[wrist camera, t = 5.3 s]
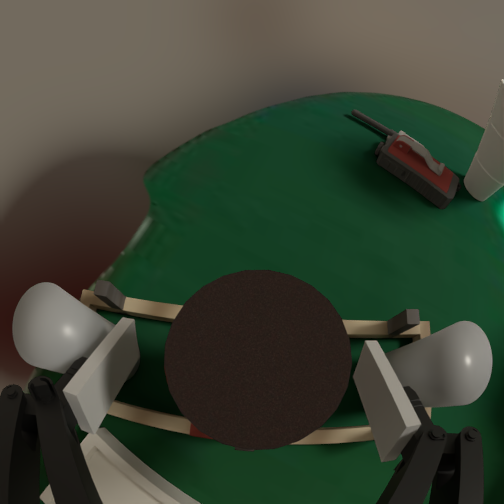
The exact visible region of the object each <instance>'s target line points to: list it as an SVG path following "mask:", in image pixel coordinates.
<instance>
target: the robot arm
mask: <svg viewBox="0 0 504 504" xmlns="http://www.w3.org/2000/svg"><path fill="white" fill-rule="evenodd" d="M139 357H140V355H139V349H138V343H137V336H136V329H135V321H134V319H129V318H124V317H123V318H122V319H121V320H120V321H119V322H118V323H117V325H116V326H115V327H114V328H113V329H112V330H111V332H110V333H109V334H108V335H107V336H106V337H105V339H104V340H103V341H102V342H101V343H100V345H99V346H98V347H97V348H96V349H95V351H94V352H93V353H92V354H91V356H90V357H89V358H86V357H83V356H82V357H81V358H79V359H77V360H76V361H74V362H73V364H72V365H71V366H70V368H68V370H67V371H66V373H64V374H63V376H62V377H61V378H60V379H59V380H58V382H57V383H56V384H55V385H54V384H53V382H52V380H51V379H50V378H49V377H46V376H38V377H35V378H34V379H32V380H31V381H30V382H29V384H28V389H29V391H30V393H31V394H25V393H23V391H22V389H21V387H20V386H18V385H14V384H13V385H9V386H6V387H5V388H4V389H3V391H2V393H1V396H0V504H40V495H39V470H40V449H41V450H42V455H43V460H44V464H45V468H46V473H47V476H48V480H49V484H50V487H51V491H52V494H53V497H54V501H55V504H103V503H102V500H101V498H100V496H99V494H98V491H97V489H96V487H95V484H94V482H93V479H92V477H91V474H90V472H89V469H88V466H87V463H86V461H85V458H84V455H83V452H82V449H81V446H80V442H79V439H78V436H77V432H76V430H75V428H74V427H75V426H76V424H77V423H78V424H79V426H80V428H81V430H83V431H86V432H88V433H91V434H93V435H95V433H96V431H97V429H98V428H99V426H100V424H101V422H102V421H103V419H104V417H105V415H106V414H107V412H108V410H109V408H110V407H111V405H112V403H113V401H114V400H115V398H116V396H117V394H118V393H119V391H120V389H121V388H122V386H123V384H124V382H125V381H126V379H127V377H128V376H129V374H130V372H131V371H132V369H133V367H134V366H135V364H136V362H137V361H138V359H139ZM353 379H354V381H355V384H356V387H357V390H358V392H359V395H360V398H361V401H362V404H363V407H364V410H365V413H366V416H367V419H368V422H369V425H370V428H371V431H372V434H373V437H374V440H375V443H376V446H377V449H378V453H379V456H380V459H381V462H385V461H391V460H396V458H397V457H398V456H399V454H400V453H401V454H402V457H403V459H402V460H401V462H400V463H399V464H398V465H397V466H396V468H395V469H394V470H396V471H395V473H394V474H393V476H392V478H391V480H390V481H389V483H388V485H387V487H386V488H385V490H384V492H383V493H382V495H381V496H380V498H379V500H378V501H377V503H376V504H423V501H424V499H425V497H426V495H427V493H428V490H429V488H430V486H431V483H432V488H431V495H430V501H429V504H483V493H484V470H483V450H482V438H481V434H480V432H479V431H478V430H477V429H476V428H474V427H465V428H463V429H462V431H461V432H460V433H459V434H452V433H446V431H445V430H444V429H443V428H441V427H440V426H436V425H433V423H432V421H431V419H430V417H429V415H428V413H427V412H426V410H425V408H424V406H422V405H423V404H422V402H421V400H419V397H418V395H417V393H416V392H415V391H414V390H413V389H412V388H411V387H410V386H405V387H402V385H401V383H400V381H399V380H398V378H397V376H396V374H395V372H394V370H393V368H392V367H391V365H390V363H389V361H388V359H387V357H386V356H385V354H384V352H383V350H382V349H381V347H380V345H379V343H378V342H377V341H365V343H364V346H363V349H362V352H361V355H360V358H359V361H358V364H357V367H356V369H355V372H354V375H353Z"/></svg>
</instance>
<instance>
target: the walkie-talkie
mask: <svg viewBox="0 0 504 504" xmlns="http://www.w3.org/2000/svg"><path fill="white" fill-rule="evenodd" d="M352 115H353V116H355V117H357V118H359V119H360V120H362V121H364V122H366V123H368V124H369V125H371V126H373V127H375V128H376V129H378V130H380V131H381V132H383V133H385V134H386V135H388V137H387V139H386V140H387V141H386V143H385V144H384V143H383V142H380V144H379V145H378V147H377V149H376V151H375V155H377V156H378V155H379V156H378V159H377V161H376V162H377V164H378V165H380V166H381V167H383V168H384V169H386V170H387V171H389V172H390V173H392V174H393V175H395V176H396V177H398V178H399V179H401V180H402V181H403V182H405V183H407V185H410V186H411V187H412V188H414V190H416V191H417V192H419V193H420V194H421V195H423V196H424V197H426V198H427V199H428V200H430V202H432V203H433V204H435V205H436V206H437V207H439V209H445V208H446V207H447V205H448V204H449V203H450V202H451V200H452V199H453V198H454V196H455V192H456V191H459V190H460V189H461V185H460V183H459V178H458V177H457V176H456V174H454V173H453V172H452V171H450V170H449V169H448V168H447V167H445V165H444V164H443V163H440V162H439V161H437V160H436V159H435V158H433V157H432V156H431V155H430V153H429V151H428V150H427V149H426V148H424V146H423V145H421V144H420V143H418V142H417V141H415V140H414V139H412V138H411V137H409V136H408V135H406V134H405V133H404V132H403V131H400V132H399V133H397V132H395V131H393V130H390V129H388V128H387V127H385V126H383V125H382V124H380V123H378V122H376V121H375V120H373V119H371V118H369V117H368V116H366V115H364V114H362V113H360V112H359V111H357V110H353V111H352Z"/></svg>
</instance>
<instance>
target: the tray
mask: <svg viewBox="0 0 504 504" xmlns="http://www.w3.org/2000/svg"><path fill="white" fill-rule="evenodd" d="M80 446H81V449H82V452H83V455H84V458H85V461H86V463H87V466H88V469H89V472H90V474H91V477H92V479H93V482H94V484H95V487H96V489H97V491H98V494H99V496H100V498H101V500H102V503H103V504H201V503H199V502H198V501H196V500H194V499H193V498H191V497H190V496H188V495H187V494H185V493H184V492H182V491H181V490H179V489H178V488H176V487H175V486H174V485H172V484H171V483H169V482H168V481H167V480H165V479H164V478H163V477H161V476H160V475H159V474H157V473H156V472H155V471H153V470H152V469H151V468H150V467H148V466H147V465H146V464H145V463H143V462H142V461H141V460H140V459H139V458H137V457H136V456H135V455H134V454H133V453H132V452H130V451H129V450H128V449H127V448H126V447H125V446H124V445H123V444H122V443H120V442H119V441H118V440H117V439H116V438H115V437H114V436H113V435H112V434H111V433H110V432H109V431H108V430H107V429H106V428H105V427H104V428H98V429H97V431H96V433H95V435H93V434H91V433H89V434H88V435H87V436H86V437H85V439H84V440H83V441H82V442H81V444H80ZM40 498H41V500H42V501H43V502H44V503H45V504H55V501H54V497H53V494H52V491H51V487H50V484H49V485H48V486H47V488H46V489H45V490H44V492H43V493H42V494H41V496H40Z"/></svg>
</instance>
